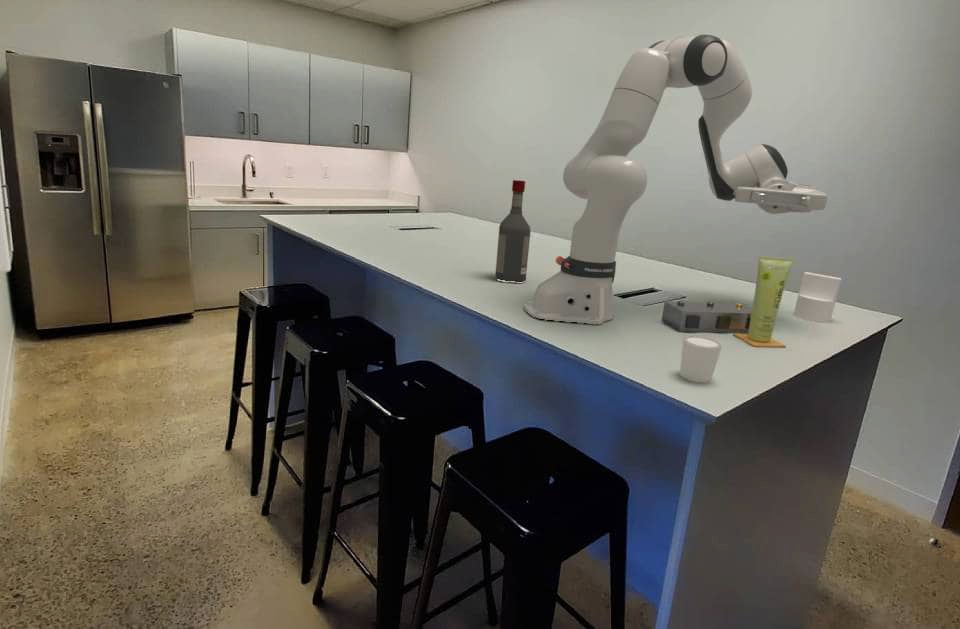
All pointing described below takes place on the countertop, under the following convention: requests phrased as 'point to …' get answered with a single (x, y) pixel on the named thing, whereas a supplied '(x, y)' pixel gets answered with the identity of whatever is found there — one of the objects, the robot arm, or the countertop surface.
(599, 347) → the countertop surface
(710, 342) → the white tapered cylinder
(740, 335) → the pad
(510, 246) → the liquor
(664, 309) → the box
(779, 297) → the tube
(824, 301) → the base with upright slab
